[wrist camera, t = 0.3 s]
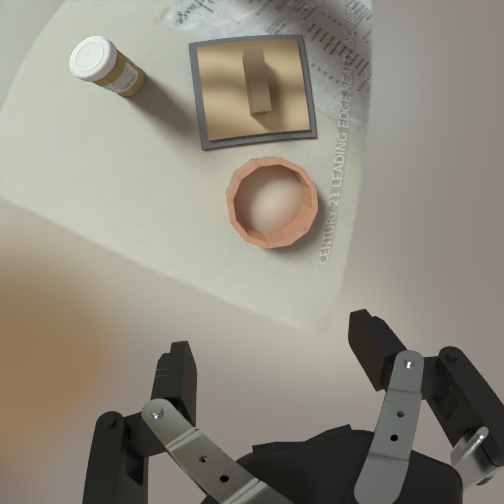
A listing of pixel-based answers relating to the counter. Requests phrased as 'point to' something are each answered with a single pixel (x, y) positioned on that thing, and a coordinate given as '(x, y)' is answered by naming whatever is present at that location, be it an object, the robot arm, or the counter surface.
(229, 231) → the counter surface
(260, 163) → the terracotta ring
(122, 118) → the counter surface
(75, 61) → the sprinkles bottle
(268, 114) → the board
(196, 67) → the rubber mat
